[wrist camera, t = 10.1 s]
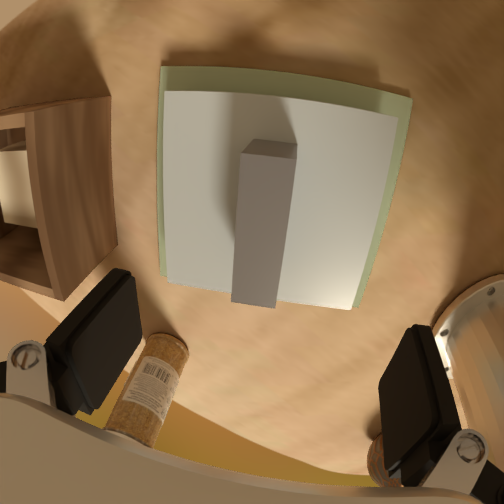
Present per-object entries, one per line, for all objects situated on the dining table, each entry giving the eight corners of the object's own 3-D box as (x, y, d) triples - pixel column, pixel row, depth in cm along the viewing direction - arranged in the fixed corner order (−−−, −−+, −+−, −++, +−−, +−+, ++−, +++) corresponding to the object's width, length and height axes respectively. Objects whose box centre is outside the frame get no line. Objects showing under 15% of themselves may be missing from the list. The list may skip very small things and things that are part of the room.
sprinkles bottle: (140, 343, 31) (83, 451, 19) (162, 323, 29) (101, 445, 17) (174, 368, 32) (131, 478, 20) (199, 352, 30) (156, 475, 18)
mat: (411, 98, 17) (413, 98, 16) (357, 304, 25) (358, 307, 24) (163, 66, 18) (160, 66, 18) (162, 273, 26) (160, 275, 26)
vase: (422, 420, 32) (432, 479, 24) (406, 445, 35) (412, 497, 28) (372, 425, 33) (376, 487, 25) (361, 449, 36) (362, 503, 29)
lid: (386, 114, 17) (423, 127, 12) (347, 289, 24) (356, 351, 18) (179, 89, 18) (130, 94, 13) (178, 264, 25) (146, 318, 19)
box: (111, 96, 19) (33, 111, 12) (117, 244, 25) (63, 301, 18) (8, 108, 20) (-60, 129, 13) (22, 227, 26) (-31, 268, 19)
